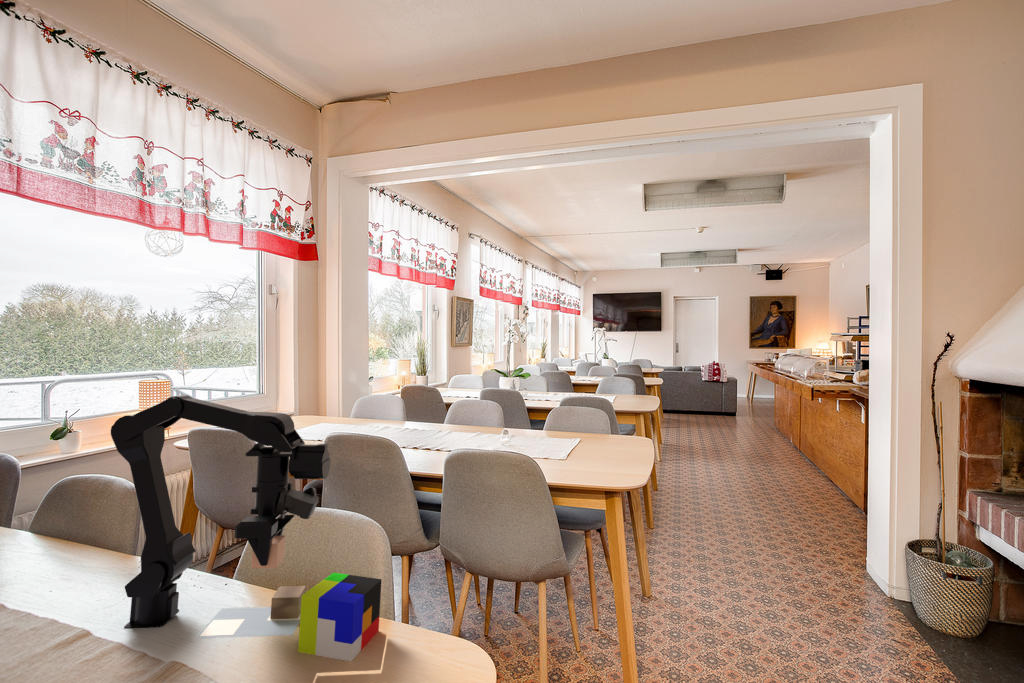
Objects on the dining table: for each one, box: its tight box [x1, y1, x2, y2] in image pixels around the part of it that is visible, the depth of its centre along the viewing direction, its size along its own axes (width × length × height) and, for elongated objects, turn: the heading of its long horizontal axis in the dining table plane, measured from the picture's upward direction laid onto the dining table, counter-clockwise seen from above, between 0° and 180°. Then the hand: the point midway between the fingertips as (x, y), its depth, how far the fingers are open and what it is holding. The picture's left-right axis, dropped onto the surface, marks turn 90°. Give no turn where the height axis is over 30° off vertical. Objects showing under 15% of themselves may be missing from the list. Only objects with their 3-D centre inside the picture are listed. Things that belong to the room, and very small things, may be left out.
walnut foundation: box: [270, 585, 306, 619], centre depth 98 cm, size 5×5×4 cm
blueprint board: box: [195, 606, 300, 639], centre depth 95 cm, size 16×12×1 cm
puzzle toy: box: [297, 572, 382, 662], centre depth 89 cm, size 10×10×10 cm
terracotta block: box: [251, 535, 286, 569], centre depth 96 cm, size 4×4×4 cm
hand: (268, 560), depth 96 cm, fingers closed on terracotta block, 4 cm apart
